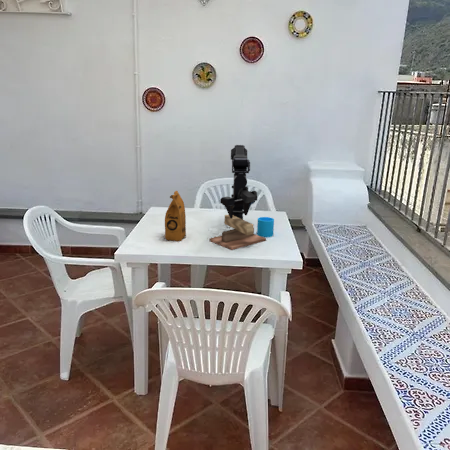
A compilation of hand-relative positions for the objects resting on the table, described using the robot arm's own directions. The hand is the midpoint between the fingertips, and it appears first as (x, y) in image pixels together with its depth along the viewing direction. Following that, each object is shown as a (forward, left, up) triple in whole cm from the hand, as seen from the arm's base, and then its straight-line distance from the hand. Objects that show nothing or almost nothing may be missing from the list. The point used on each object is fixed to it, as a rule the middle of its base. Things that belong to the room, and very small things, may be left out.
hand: (238, 216), depth 208 cm
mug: (0, +19, -12) cm, 23 cm away
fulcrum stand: (0, 0, -12) cm, 12 cm away
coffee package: (-22, -21, -12) cm, 33 cm away
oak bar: (0, 0, -6) cm, 6 cm away
